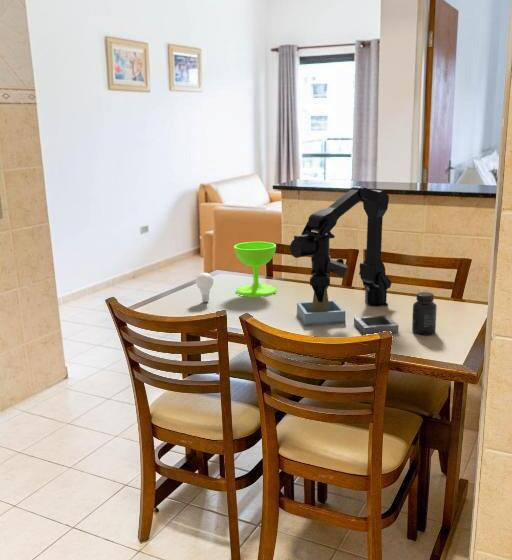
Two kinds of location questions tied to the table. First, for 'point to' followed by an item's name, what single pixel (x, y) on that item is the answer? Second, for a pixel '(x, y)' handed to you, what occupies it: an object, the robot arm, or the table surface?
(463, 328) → the table surface
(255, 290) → the wineglass
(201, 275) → the lightbulb
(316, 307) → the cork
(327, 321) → the plastic tray
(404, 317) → the table surface
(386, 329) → the metal collar
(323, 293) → the robot arm
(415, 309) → the supplement bottle
